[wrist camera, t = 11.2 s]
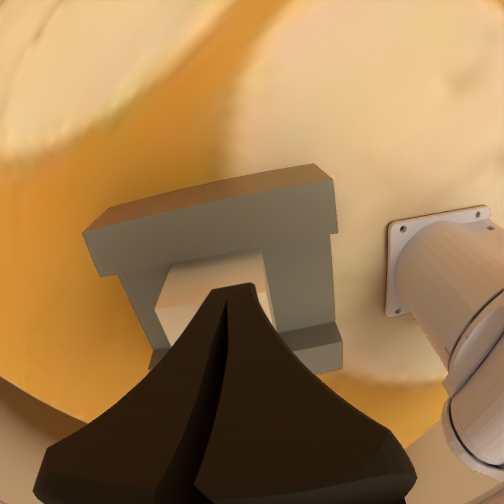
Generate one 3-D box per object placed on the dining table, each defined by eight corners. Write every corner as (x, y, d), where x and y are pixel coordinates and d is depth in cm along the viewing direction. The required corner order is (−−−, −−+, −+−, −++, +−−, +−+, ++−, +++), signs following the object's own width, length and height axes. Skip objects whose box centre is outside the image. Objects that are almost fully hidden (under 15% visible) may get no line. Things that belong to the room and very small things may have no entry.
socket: (314, 163, 17) (333, 179, 14) (330, 331, 23) (342, 368, 20) (109, 208, 18) (81, 233, 15) (171, 356, 24) (162, 393, 20)
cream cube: (258, 230, 19) (265, 291, 13) (273, 309, 21) (283, 381, 16) (179, 246, 19) (154, 309, 13) (204, 320, 22) (194, 391, 16)
